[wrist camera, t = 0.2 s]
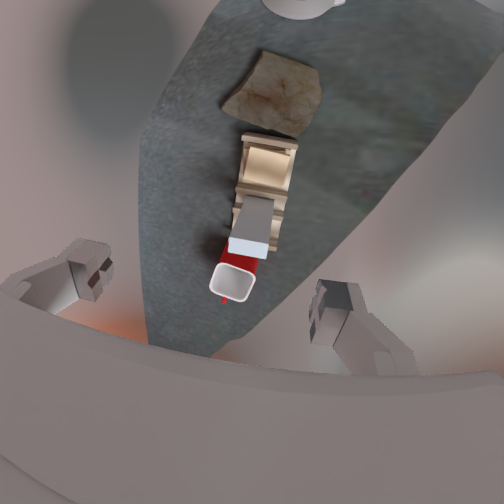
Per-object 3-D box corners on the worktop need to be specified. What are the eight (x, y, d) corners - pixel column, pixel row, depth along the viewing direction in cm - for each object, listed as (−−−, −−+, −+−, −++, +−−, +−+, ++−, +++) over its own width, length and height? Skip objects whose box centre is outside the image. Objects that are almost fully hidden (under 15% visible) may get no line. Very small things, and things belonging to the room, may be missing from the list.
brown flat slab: (221, 111, 51) (216, 112, 47) (248, 45, 43) (245, 41, 40) (300, 142, 52) (301, 145, 49) (330, 77, 45) (333, 75, 41)
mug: (228, 234, 64) (218, 260, 55) (262, 247, 65) (258, 274, 56) (214, 274, 70) (203, 302, 61) (245, 286, 71) (238, 315, 62)
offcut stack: (247, 140, 51) (243, 145, 47) (290, 148, 51) (291, 153, 46) (242, 175, 55) (237, 184, 50) (284, 183, 55) (283, 192, 50)
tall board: (248, 191, 57) (229, 236, 40) (275, 196, 57) (268, 244, 40) (246, 202, 58) (227, 252, 41) (273, 207, 58) (265, 259, 41)
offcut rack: (246, 131, 52) (242, 135, 47) (297, 140, 52) (298, 144, 47) (232, 230, 63) (227, 242, 59) (277, 238, 63) (276, 251, 58)
